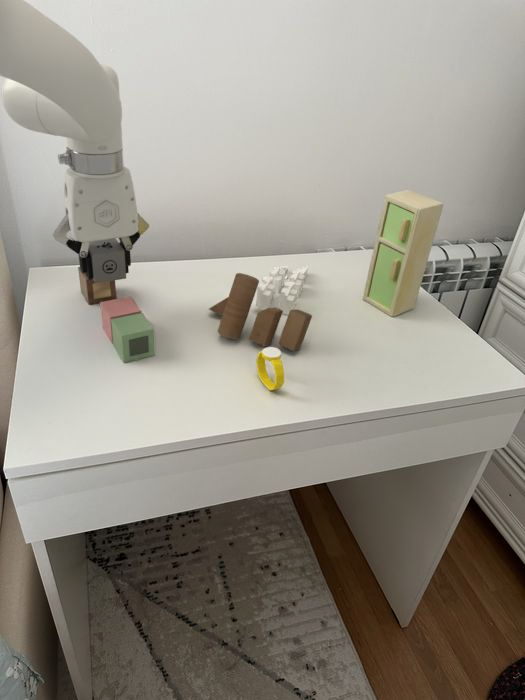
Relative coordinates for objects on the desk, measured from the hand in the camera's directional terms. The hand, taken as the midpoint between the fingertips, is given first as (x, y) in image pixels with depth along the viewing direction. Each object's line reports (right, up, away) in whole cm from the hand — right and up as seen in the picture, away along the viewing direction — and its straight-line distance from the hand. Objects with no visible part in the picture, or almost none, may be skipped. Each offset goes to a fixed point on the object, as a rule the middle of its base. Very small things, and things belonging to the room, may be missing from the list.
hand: (106, 271), depth 87 cm
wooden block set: (+23, -11, +3) cm, 26 cm away
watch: (+26, -18, -7) cm, 33 cm away
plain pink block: (+3, -10, 0) cm, 10 cm away
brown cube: (-4, -3, +9) cm, 10 cm away
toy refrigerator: (+50, -4, +16) cm, 52 cm away
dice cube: (0, -1, 0) cm, 1 cm away
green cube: (+5, -13, -3) cm, 14 cm away
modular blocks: (+30, -1, +17) cm, 34 cm away
